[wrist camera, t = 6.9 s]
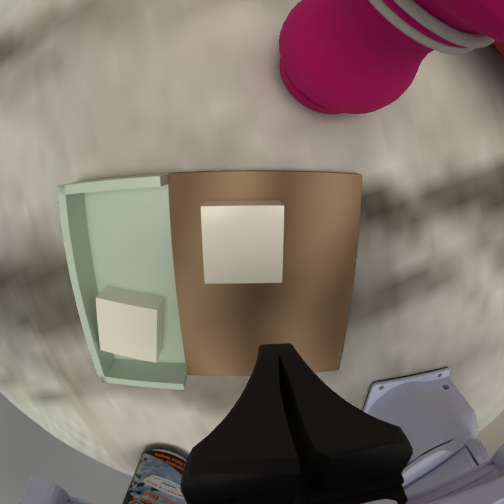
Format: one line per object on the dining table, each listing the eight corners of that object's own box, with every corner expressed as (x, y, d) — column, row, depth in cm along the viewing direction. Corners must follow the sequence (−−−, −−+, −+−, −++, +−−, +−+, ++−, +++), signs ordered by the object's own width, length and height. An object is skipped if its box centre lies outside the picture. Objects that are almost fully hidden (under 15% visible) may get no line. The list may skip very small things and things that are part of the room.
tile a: (164, 296, 21) (157, 310, 19) (162, 347, 22) (156, 362, 20) (106, 285, 20) (95, 297, 19) (109, 336, 22) (100, 350, 20)
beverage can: (205, 460, 28) (198, 550, 16) (167, 475, 29) (155, 553, 18) (160, 435, 26) (139, 531, 15) (126, 453, 28) (103, 533, 16)
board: (355, 173, 19) (362, 174, 18) (335, 361, 24) (339, 369, 22) (172, 172, 19) (167, 174, 18) (189, 365, 23) (187, 374, 22)
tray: (172, 172, 19) (160, 176, 16) (189, 365, 23) (184, 389, 20) (79, 180, 18) (57, 186, 16) (111, 359, 23) (100, 381, 20)
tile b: (279, 200, 18) (284, 205, 16) (278, 270, 20) (282, 282, 18) (205, 201, 18) (200, 206, 16) (208, 271, 20) (204, 283, 18)
